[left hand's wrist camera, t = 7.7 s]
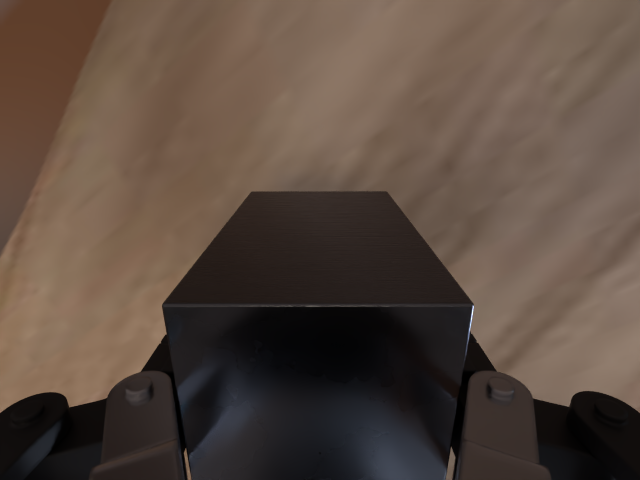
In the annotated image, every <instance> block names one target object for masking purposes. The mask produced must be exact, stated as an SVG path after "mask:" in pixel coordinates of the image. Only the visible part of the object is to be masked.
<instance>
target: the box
mask: <svg viewBox="0 0 640 480" xmlns="http://www.w3.org/2000/svg"><path fill="white" fill-rule="evenodd" d="M473 308H474V304H473V302H472V301H471V300H470V299H469V297H468V296H467V295H466V293H465V292H464V291H463V290H462V288H461V287H460V286H459V284H458V283H457V282H456V280H455V279H454V278H453V277H452V275H451V274H450V273H449V271H448V270H447V269H446V267H445V266H444V265H443V264H442V262H441V261H440V260H439V258H438V257H437V256H436V255H435V253H434V252H433V251H432V249H431V248H430V247H429V245H428V244H427V243H426V242H425V240H424V239H423V238H422V236H421V235H420V234H419V233H418V231H417V230H416V229H415V227H414V226H413V225H412V223H411V222H410V221H409V220H408V218H407V217H406V216H405V214H404V213H403V212H402V210H401V209H400V208H399V207H398V205H397V204H396V203H395V201H394V200H393V199H392V198H391V196H390V195H389V194H388V192H386V191H345V192H251V193H250V194H249V195H248V197H247V198H246V199H245V200H244V202H243V203H242V204H241V205H240V207H239V208H238V209H237V211H236V212H235V213H234V214H233V216H232V217H231V218H230V219H229V221H228V222H227V223H226V224H225V226H224V227H223V228H222V229H221V231H220V232H219V233H218V235H217V236H216V237H215V238H214V240H213V241H212V242H211V243H210V245H209V246H208V247H207V248H206V250H205V251H204V252H203V253H202V255H201V256H200V257H199V259H198V260H197V261H196V262H195V264H194V265H193V266H192V267H191V269H190V270H189V271H188V272H187V274H186V275H185V276H184V277H183V279H182V280H181V281H180V283H179V284H178V285H177V286H176V288H175V289H174V290H173V291H172V293H171V294H170V295H169V296H168V298H167V299H166V300H165V301H164V303H163V305H162V309H163V315H164V320H165V326H166V332H167V338H168V344H169V350H170V356H171V362H172V367H173V373H174V379H175V385H176V391H177V397H178V403H179V409H180V414H181V420H182V426H183V432H184V438H185V444H186V450H187V455H188V461H189V467H190V473H191V479H192V480H446V474H447V467H448V461H449V455H450V449H451V443H452V437H453V431H454V425H455V418H456V412H457V406H458V400H459V394H460V388H461V382H462V376H463V369H464V363H465V357H466V351H467V345H468V339H469V333H470V327H471V320H472V314H473Z"/></svg>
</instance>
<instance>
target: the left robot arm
mask: <svg viewBox="0 0 640 480" xmlns="http://www.w3.org/2000/svg"><path fill="white" fill-rule="evenodd" d="M451 447H452V449H453V452H454V455H455V463H454V470H453V477H452V480H640V413H639V412H638V411H636V410H635V409H634V408H632V407H631V406H629V405H628V404H626V403H625V402H623V401H621V400H619V399H617V398H614V397H612V396H609V395H606V394H603V393H599V392H593V391H583V392H579V393H576V394H575V395H574V396H573V397H572V399H571V403H570V406H569V407H567V406H562V405H558V404H554V403H549V402H545V401H541V400H537V399H533V397H532V395H531V393H530V391H529V390H528V388H527V387H526V386H525V385H523V384H522V383H521V382H520V381H518V380H517V379H515V378H513V377H511V376H509V375H507V374H504V373H501V372H497V371H496V370H495V368H494V367H493V365H492V363H491V362H490V360H489V359H488V357H487V356H486V354H485V353H484V351H483V350H482V348H481V347H480V345H479V344H478V343H477V342H476V339H475V338H474V336H473V335H472V334H471V332H470V333H469V339H468V345H467V351H466V357H465V363H464V369H463V376H462V382H461V388H460V394H459V400H458V406H457V412H456V418H455V425H454V431H453V437H452V443H451ZM185 448H186V444H185V438H184V432H183V426H182V420H181V414H180V409H179V403H178V397H177V391H176V385H175V379H174V373H173V367H172V362H171V356H170V350H169V344H168V338H167V335H165V336H164V338H163V339H162V341H161V344H159V345H158V347H157V348H156V350H155V351H154V353H153V354H152V356H151V357H150V359H149V360H148V362H147V363H146V365H145V366H144V368H143V369H142V371H141V372H139V373H136V374H133V375H131V376H129V377H127V378H125V379H123V380H122V381H120V382H119V383H118V384H117V385H115V386H114V387H113V388H112V390H111V391H110V393H109V395H108V397H107V398H106V399H103V400H100V401H96V402H91V403H87V404H83V405H78V406H74V407H70V408H69V405H68V402H67V399H66V397H65V396H64V395H62V394H60V393H54V392H48V393H41V394H36V395H33V396H30V397H27V398H25V399H22V400H20V401H18V402H16V403H14V404H13V405H11V406H9V407H8V408H6V409H5V410H4V411H2V412H1V413H0V480H188V477H187V470H186V463H185V457H184V451H185Z"/></svg>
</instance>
